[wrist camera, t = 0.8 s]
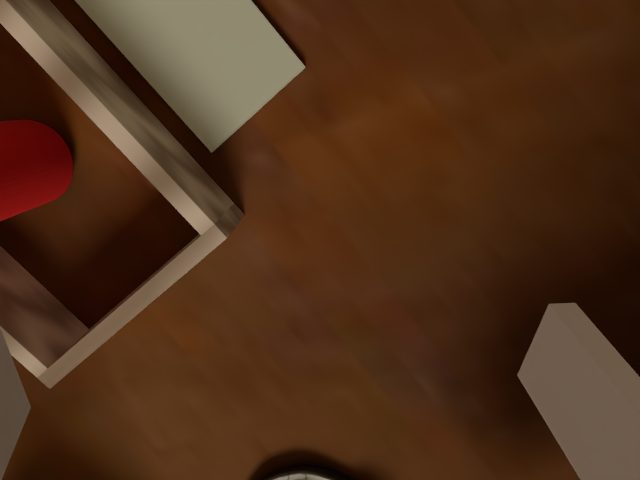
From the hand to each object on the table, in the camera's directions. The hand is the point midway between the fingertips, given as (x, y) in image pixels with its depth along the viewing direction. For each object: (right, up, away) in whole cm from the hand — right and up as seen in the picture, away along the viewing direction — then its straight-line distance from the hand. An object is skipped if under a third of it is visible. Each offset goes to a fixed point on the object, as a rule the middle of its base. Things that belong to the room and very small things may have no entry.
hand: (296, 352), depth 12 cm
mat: (-9, +18, +21) cm, 29 cm away
